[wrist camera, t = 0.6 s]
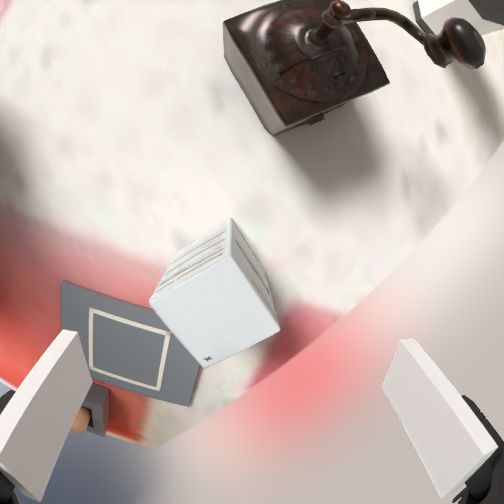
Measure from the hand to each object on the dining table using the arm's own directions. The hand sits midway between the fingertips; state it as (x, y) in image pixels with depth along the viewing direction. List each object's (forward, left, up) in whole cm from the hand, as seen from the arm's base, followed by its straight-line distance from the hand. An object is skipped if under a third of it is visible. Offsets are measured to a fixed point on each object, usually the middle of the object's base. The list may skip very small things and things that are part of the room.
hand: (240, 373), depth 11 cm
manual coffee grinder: (+3, +19, -23) cm, 30 cm away
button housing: (-17, -34, -22) cm, 44 cm away
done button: (-17, -34, -20) cm, 42 cm away
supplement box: (0, -4, -23) cm, 23 cm away
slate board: (-10, -20, -22) cm, 31 cm away
